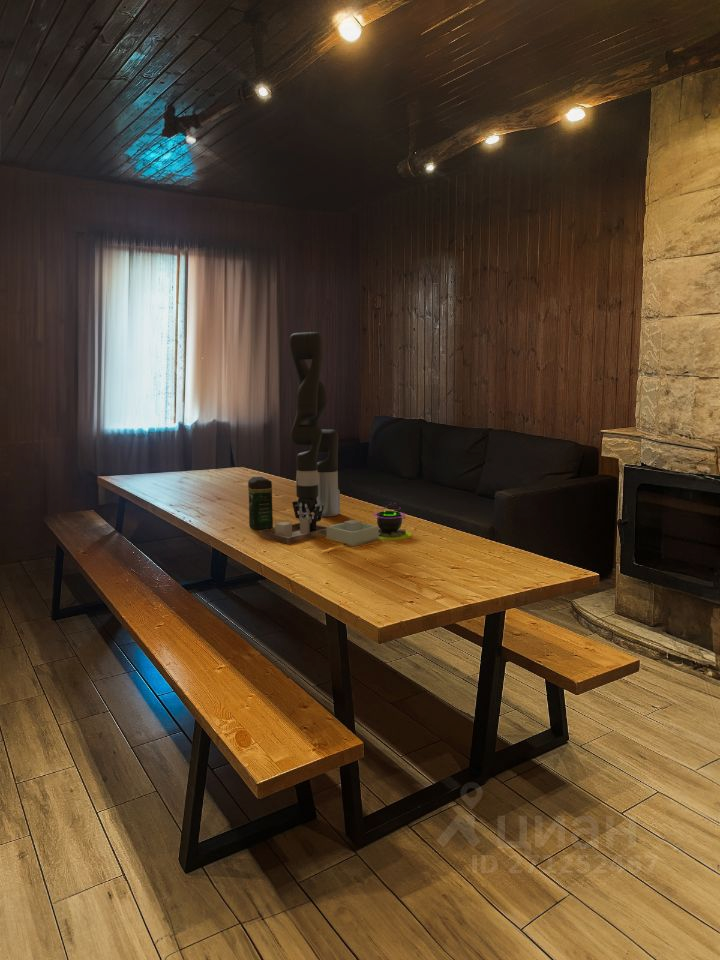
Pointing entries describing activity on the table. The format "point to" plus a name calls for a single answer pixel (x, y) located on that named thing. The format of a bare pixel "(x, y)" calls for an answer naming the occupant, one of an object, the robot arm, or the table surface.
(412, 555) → the table surface
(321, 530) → the tray
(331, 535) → the dump tub
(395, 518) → the toy cauldron
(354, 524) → the stone
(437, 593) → the table surface
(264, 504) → the coffee jar
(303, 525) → the grey rectangular block
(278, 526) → the stone
